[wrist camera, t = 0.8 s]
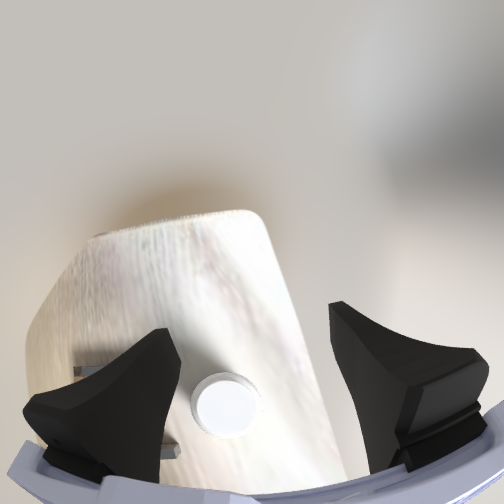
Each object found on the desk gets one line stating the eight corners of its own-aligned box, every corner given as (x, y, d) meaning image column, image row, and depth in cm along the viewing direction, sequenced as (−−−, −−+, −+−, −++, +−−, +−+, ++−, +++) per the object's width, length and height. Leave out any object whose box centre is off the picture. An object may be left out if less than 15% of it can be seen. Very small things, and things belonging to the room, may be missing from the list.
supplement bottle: (186, 405, 23) (167, 411, 14) (220, 366, 25) (219, 351, 17) (230, 437, 22) (235, 460, 13) (263, 397, 24) (285, 398, 16)
